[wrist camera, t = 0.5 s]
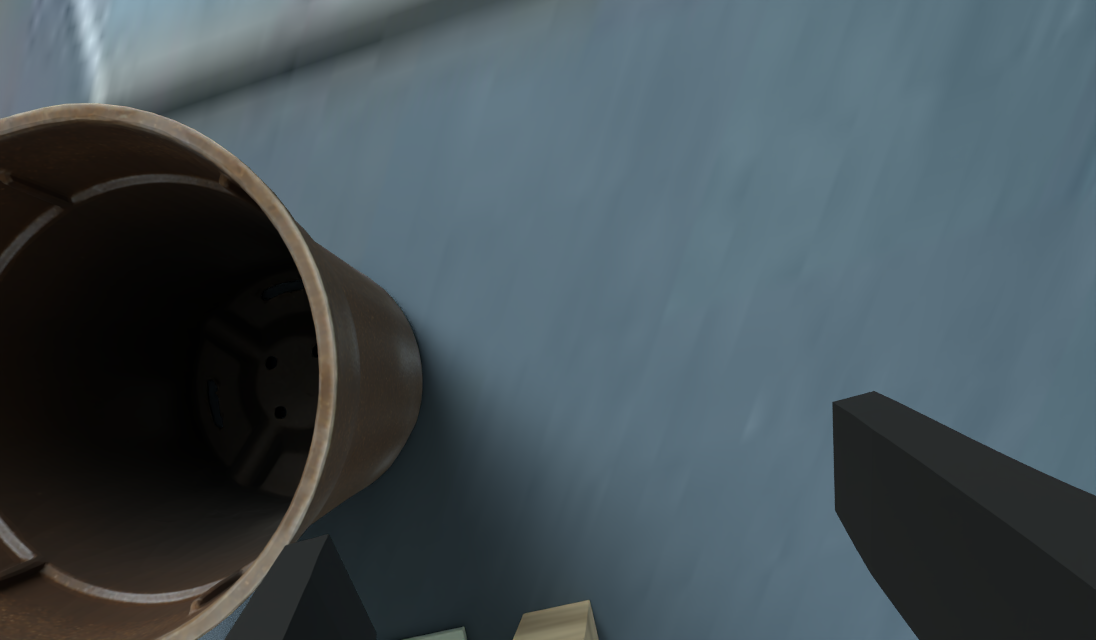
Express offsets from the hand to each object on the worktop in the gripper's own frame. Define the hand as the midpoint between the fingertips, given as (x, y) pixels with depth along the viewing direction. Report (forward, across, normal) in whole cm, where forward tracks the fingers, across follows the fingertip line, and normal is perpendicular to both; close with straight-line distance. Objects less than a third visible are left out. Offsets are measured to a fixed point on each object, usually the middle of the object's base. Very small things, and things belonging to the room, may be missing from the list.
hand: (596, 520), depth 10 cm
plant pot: (+25, +12, +10) cm, 29 cm away
